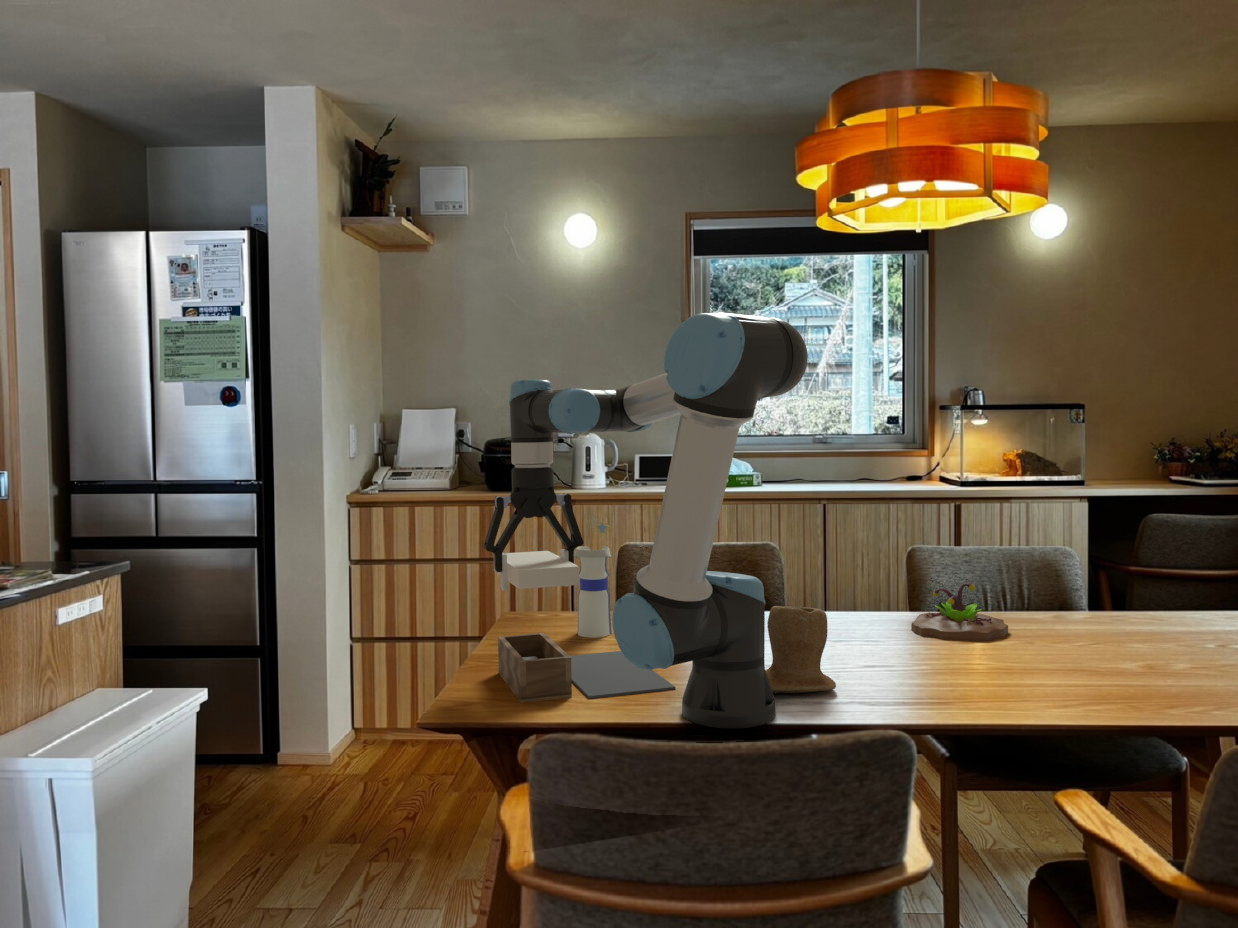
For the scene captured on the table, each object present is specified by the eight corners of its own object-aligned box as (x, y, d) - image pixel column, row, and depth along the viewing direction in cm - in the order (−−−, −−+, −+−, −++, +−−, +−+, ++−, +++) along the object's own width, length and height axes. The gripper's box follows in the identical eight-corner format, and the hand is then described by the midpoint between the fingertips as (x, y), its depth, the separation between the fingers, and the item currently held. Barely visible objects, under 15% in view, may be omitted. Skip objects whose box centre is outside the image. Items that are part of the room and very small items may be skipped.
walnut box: (571, 697, 165) (571, 657, 165) (520, 702, 163) (520, 662, 162) (544, 668, 184) (544, 632, 184) (498, 673, 182) (497, 636, 181)
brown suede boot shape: (823, 679, 175) (823, 598, 174) (842, 698, 163) (842, 611, 162) (741, 681, 174) (741, 600, 173) (754, 700, 162) (753, 613, 161)
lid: (579, 584, 164) (579, 566, 164) (518, 589, 161) (518, 570, 161) (548, 567, 185) (547, 550, 184) (494, 570, 181) (493, 553, 181)
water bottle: (577, 629, 218) (575, 520, 217) (614, 629, 217) (613, 520, 216) (572, 637, 210) (570, 524, 209) (610, 637, 209) (609, 524, 208)
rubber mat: (675, 689, 169) (675, 686, 169) (588, 698, 164) (588, 696, 164) (625, 652, 196) (625, 650, 196) (549, 659, 191) (549, 657, 191)
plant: (1001, 647, 198) (1002, 593, 198) (905, 637, 207) (905, 586, 207) (1012, 627, 216) (1012, 578, 215) (923, 619, 225) (923, 572, 224)
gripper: (587, 463, 179) (590, 579, 180) (464, 467, 172) (467, 588, 173) (599, 464, 172) (602, 586, 173) (472, 468, 165) (475, 595, 166)
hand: (534, 587), depth 173 cm, fingers closed on lid, 11 cm apart
